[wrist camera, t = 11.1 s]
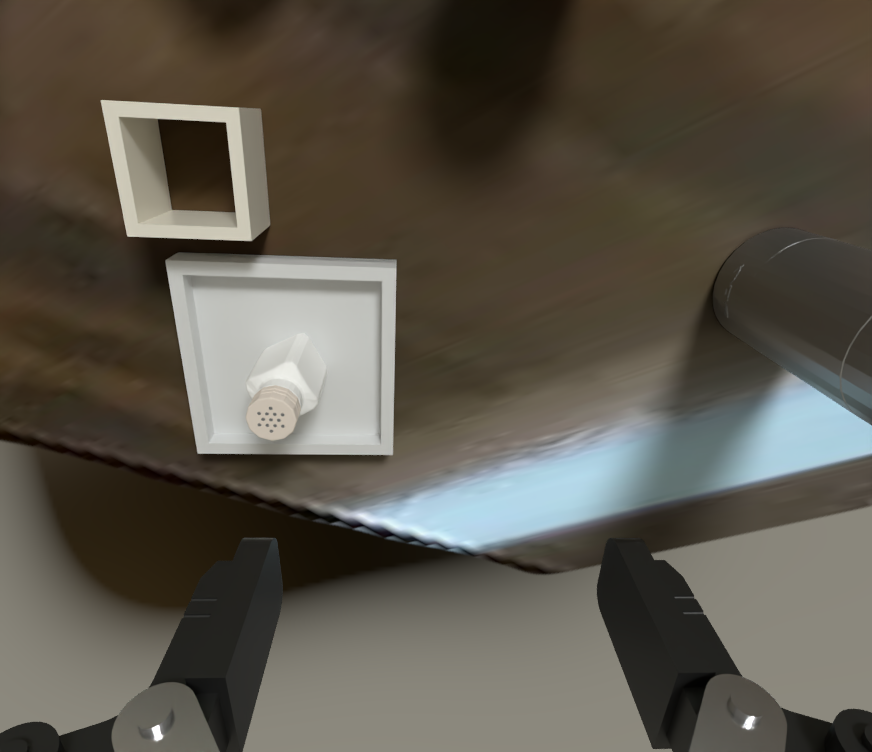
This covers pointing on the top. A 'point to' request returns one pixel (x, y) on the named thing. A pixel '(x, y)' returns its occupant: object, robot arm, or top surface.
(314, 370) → the pepper shaker
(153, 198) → the holder
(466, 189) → the top surface
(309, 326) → the tray
